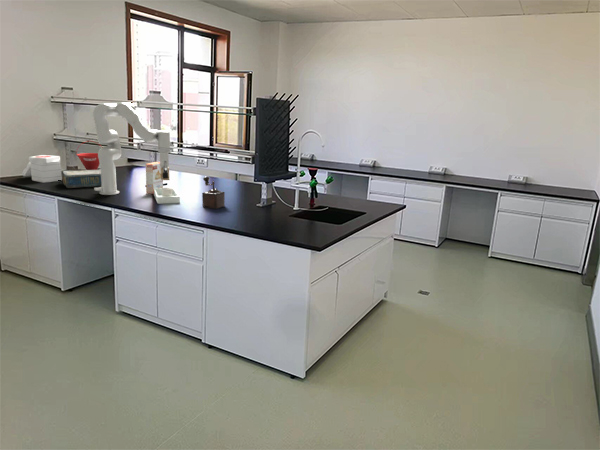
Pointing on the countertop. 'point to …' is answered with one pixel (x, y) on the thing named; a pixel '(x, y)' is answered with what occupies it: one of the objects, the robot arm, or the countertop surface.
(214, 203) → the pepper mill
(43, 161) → the pizza boxes
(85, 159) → the fire bucket
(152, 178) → the cracker box
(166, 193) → the white block
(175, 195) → the tray
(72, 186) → the metal box
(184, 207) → the countertop surface
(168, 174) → the light wooden cube
